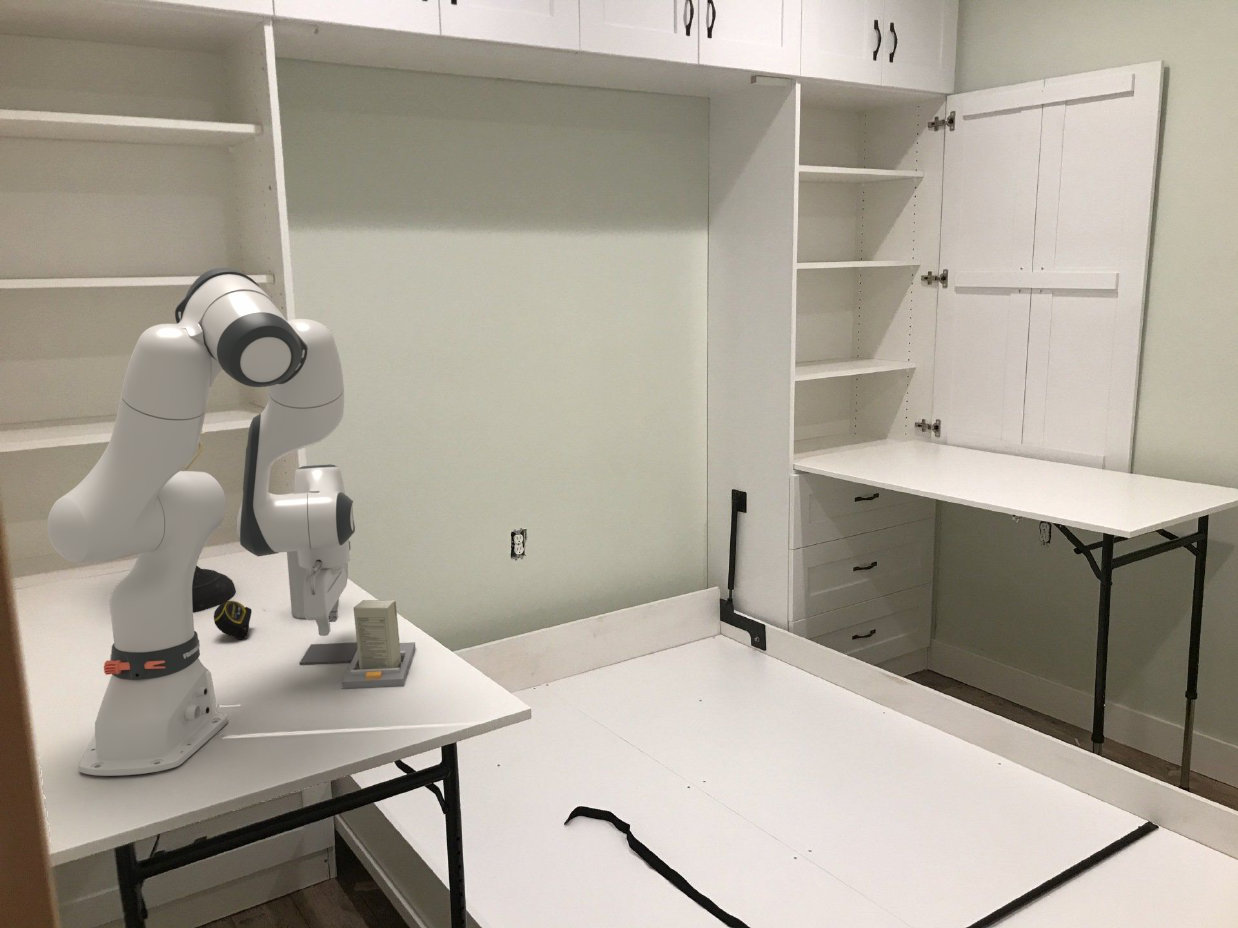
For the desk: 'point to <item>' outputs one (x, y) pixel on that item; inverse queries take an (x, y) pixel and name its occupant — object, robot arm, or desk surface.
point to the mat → (329, 653)
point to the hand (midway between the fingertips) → (328, 627)
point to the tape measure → (233, 619)
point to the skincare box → (377, 634)
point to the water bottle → (296, 584)
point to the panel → (379, 672)
